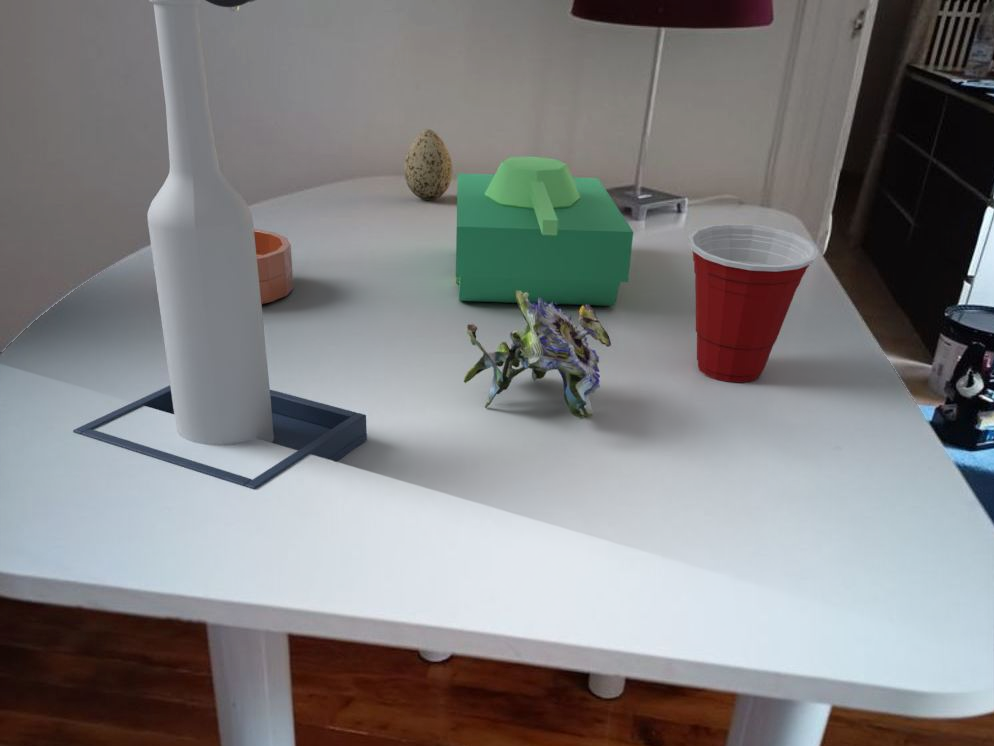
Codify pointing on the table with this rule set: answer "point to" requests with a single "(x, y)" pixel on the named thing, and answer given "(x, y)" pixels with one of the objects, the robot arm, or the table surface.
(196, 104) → the bottle
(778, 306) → the plastic cup
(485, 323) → the table surface
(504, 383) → the passion flower
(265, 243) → the bowl
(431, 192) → the decorative egg
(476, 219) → the toy tank
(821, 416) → the table surface
